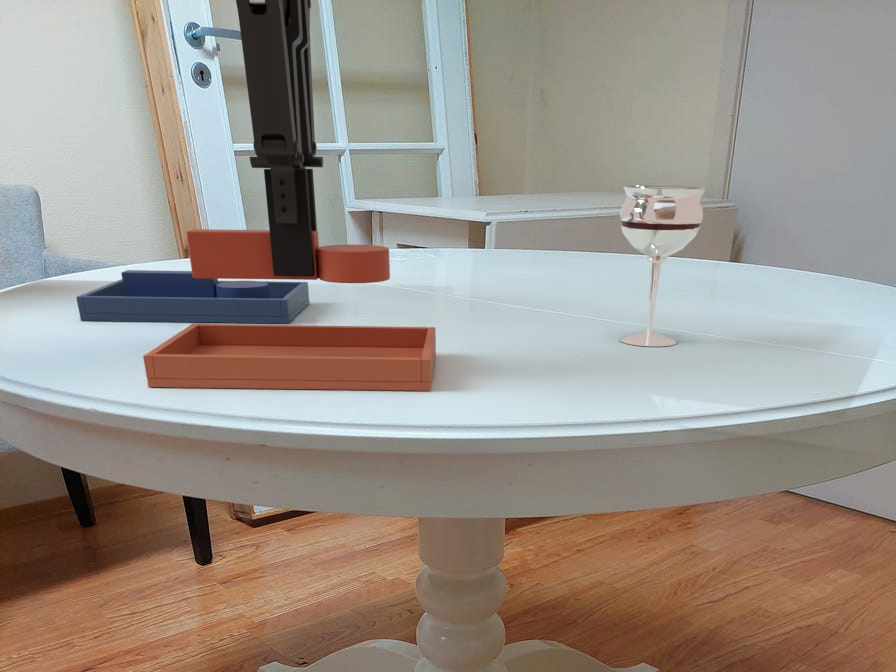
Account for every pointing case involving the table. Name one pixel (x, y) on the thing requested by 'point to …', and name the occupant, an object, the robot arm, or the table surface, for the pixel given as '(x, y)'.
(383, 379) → the terracotta tray
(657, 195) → the wineglass
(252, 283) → the blue block
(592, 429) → the table surface
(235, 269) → the bar with round end
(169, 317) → the blue tray
